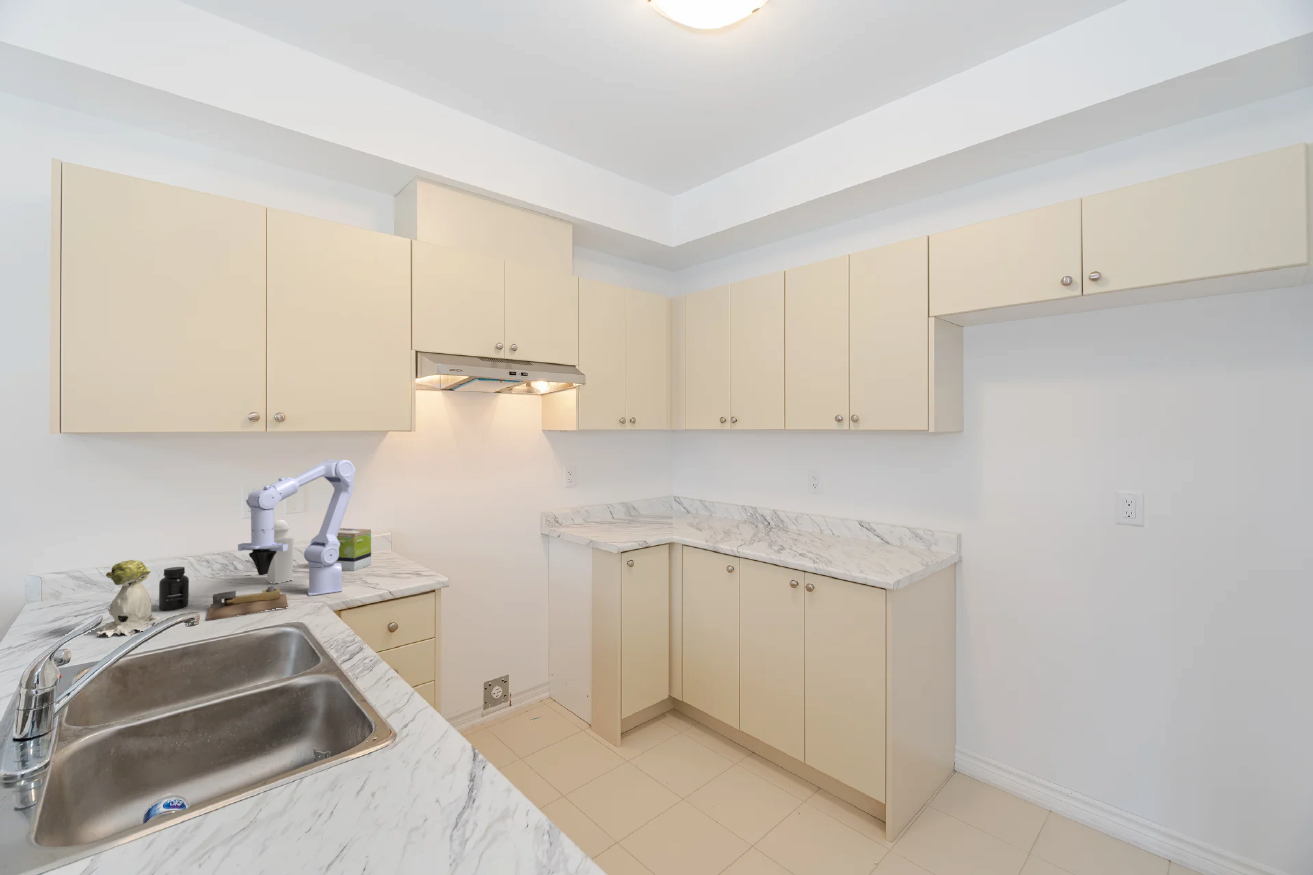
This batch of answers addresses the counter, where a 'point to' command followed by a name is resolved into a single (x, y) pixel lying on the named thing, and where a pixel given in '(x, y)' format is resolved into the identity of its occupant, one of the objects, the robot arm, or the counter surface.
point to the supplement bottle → (173, 589)
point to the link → (254, 597)
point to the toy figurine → (129, 599)
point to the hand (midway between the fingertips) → (263, 574)
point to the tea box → (354, 548)
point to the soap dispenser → (281, 555)
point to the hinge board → (242, 605)
